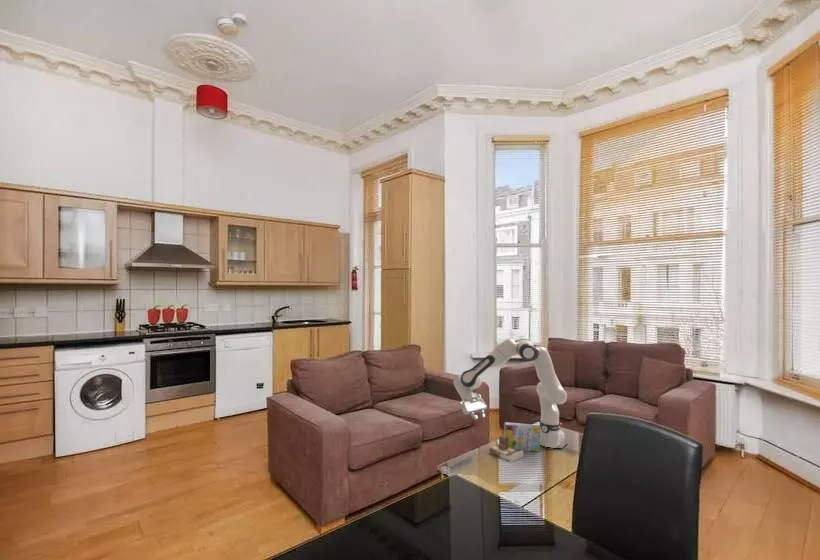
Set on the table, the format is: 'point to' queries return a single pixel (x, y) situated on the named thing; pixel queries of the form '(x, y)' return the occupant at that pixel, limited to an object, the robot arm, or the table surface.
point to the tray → (512, 455)
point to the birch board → (497, 450)
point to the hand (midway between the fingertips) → (480, 418)
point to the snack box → (523, 436)
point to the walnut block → (503, 442)
